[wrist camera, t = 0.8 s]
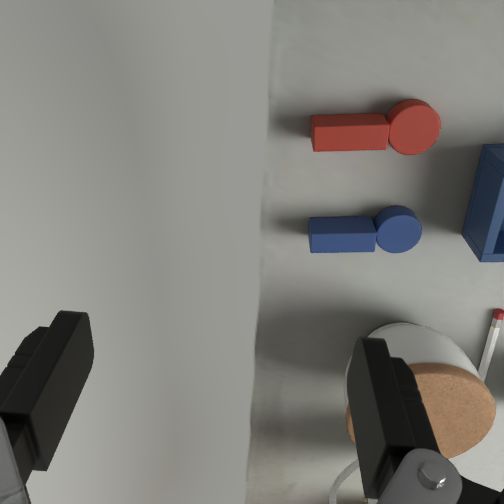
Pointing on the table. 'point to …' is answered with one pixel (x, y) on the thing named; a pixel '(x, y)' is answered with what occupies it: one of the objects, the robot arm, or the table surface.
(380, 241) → the blue spoon
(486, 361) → the pencil
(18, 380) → the robot arm
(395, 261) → the table surface
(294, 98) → the table surface
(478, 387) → the trinket box
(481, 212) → the blue bin
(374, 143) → the red spoon
